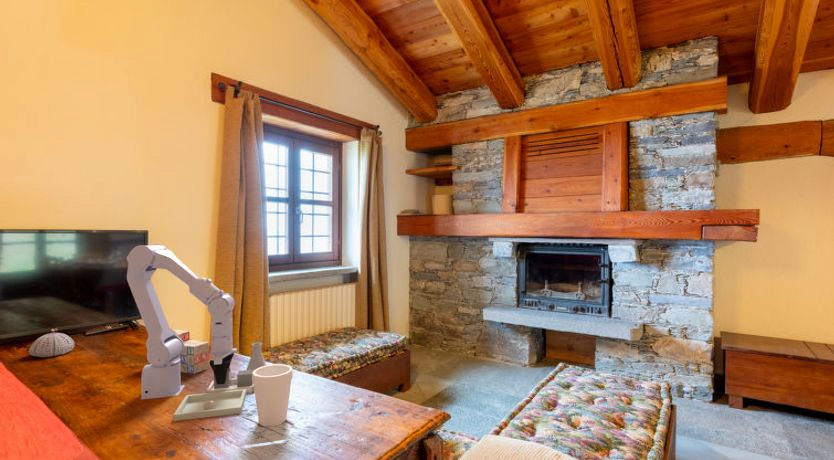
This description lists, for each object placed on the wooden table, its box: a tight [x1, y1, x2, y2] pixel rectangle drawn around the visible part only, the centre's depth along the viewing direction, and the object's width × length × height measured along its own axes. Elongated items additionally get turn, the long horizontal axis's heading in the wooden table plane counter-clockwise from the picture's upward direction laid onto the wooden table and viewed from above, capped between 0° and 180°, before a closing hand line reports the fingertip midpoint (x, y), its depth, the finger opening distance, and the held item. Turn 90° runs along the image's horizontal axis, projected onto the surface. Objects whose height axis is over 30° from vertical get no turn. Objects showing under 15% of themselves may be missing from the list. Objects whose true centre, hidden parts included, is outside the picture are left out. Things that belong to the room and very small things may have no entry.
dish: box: [205, 377, 255, 394], centre depth 123 cm, size 13×9×2 cm
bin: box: [172, 389, 247, 422], centre depth 111 cm, size 16×13×2 cm
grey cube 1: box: [236, 369, 253, 387], centre depth 124 cm, size 4×4×4 cm
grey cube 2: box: [213, 367, 232, 389], centre depth 122 cm, size 4×4×4 cm
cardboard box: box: [173, 329, 210, 375], centre depth 143 cm, size 21×6×12 cm, turn 69°
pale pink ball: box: [204, 400, 216, 410], centre depth 107 cm, size 3×3×3 cm
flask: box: [246, 342, 267, 371], centre depth 137 cm, size 7×7×10 cm
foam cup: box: [252, 363, 293, 427], centre depth 103 cm, size 10×9×13 cm
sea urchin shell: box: [28, 332, 76, 358], centre depth 159 cm, size 13×14×8 cm
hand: (222, 381), depth 122 cm, fingers closed on grey cube 2, 4 cm apart
